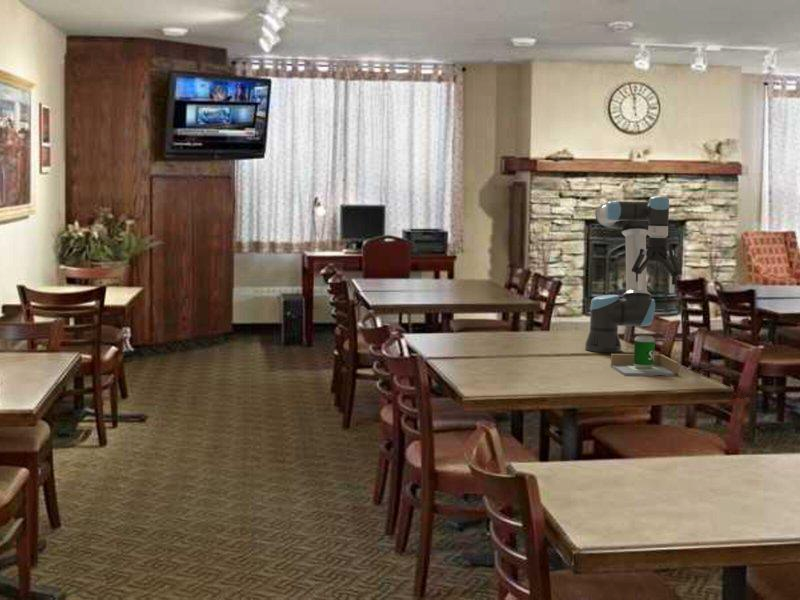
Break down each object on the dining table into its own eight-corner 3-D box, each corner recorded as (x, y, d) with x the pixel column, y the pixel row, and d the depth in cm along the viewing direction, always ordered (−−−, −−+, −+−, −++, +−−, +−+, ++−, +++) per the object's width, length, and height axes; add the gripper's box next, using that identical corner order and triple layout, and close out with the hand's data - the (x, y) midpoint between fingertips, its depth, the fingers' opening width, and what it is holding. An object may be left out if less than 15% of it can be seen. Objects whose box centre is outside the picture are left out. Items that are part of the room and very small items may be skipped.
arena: (610, 366, 409) (611, 353, 409) (661, 366, 411) (662, 354, 410) (624, 375, 390) (625, 362, 389) (678, 375, 391) (678, 362, 390)
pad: (627, 366, 405) (627, 365, 405) (652, 366, 405) (652, 365, 405) (634, 370, 395) (634, 370, 395) (660, 370, 395) (660, 370, 395)
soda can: (643, 370, 395) (645, 338, 394) (629, 367, 401) (630, 335, 400) (658, 368, 399) (659, 337, 398) (643, 365, 405) (644, 334, 404)
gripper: (624, 235, 416) (622, 289, 418) (683, 238, 399) (680, 294, 402) (633, 235, 421) (631, 288, 424) (692, 238, 405) (689, 293, 407)
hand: (655, 291), depth 413 cm, fingers open, 13 cm apart
